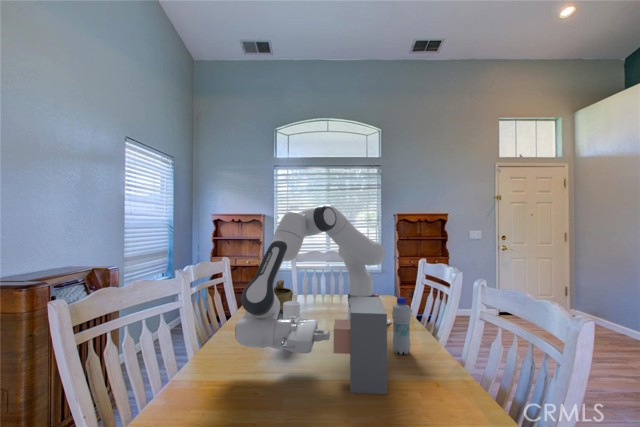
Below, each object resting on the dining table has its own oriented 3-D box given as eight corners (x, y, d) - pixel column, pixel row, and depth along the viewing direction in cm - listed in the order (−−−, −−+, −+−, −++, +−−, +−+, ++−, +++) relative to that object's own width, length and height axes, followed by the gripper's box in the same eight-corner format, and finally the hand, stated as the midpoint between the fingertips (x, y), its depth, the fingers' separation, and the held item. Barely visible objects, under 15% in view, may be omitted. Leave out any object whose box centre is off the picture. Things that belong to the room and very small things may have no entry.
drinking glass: (297, 345, 121) (297, 305, 122) (280, 343, 123) (280, 304, 123) (301, 338, 128) (301, 301, 128) (285, 337, 129) (286, 300, 130)
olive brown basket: (267, 304, 180) (267, 278, 181) (296, 306, 178) (296, 279, 179) (254, 316, 158) (255, 286, 159) (287, 317, 156) (288, 287, 157)
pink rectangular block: (333, 353, 94) (333, 328, 94) (334, 341, 103) (334, 319, 103) (350, 353, 93) (350, 329, 93) (350, 342, 102) (350, 319, 103)
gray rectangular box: (350, 392, 88) (350, 312, 88) (350, 361, 107) (350, 296, 108) (386, 394, 87) (386, 313, 87) (379, 362, 107) (379, 297, 107)
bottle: (411, 350, 117) (411, 296, 118) (410, 357, 111) (410, 300, 111) (392, 347, 119) (393, 294, 120) (390, 354, 113) (391, 298, 114)
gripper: (278, 335, 90) (327, 337, 88) (291, 314, 110) (331, 315, 109) (278, 358, 89) (327, 360, 88) (291, 332, 110) (331, 334, 108)
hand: (329, 335), depth 99 cm, fingers closed
